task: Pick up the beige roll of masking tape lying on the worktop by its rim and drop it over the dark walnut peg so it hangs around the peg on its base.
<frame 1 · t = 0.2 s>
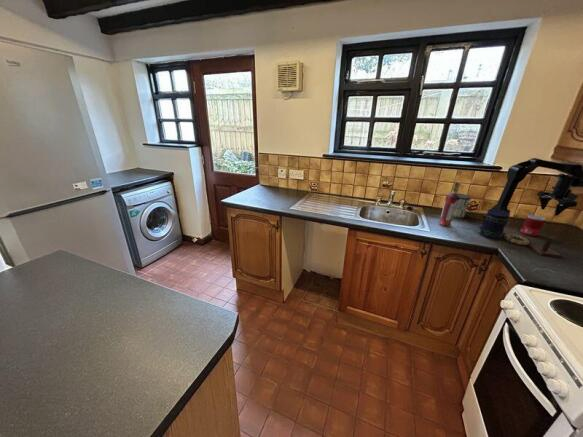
hand: (549, 212, 139), 14 cm above the countertop, tool pointing down, fingers open, 9 cm apart
tape post: (543, 251, 127), on the countertop
tape: (516, 239, 136), point 1 cm above the countertop
canned food: (528, 234, 146), on the countertop
coffee can: (455, 214, 170), on the countertop
liquor: (444, 225, 154), on the countertop
storage jar: (489, 235, 141), on the countertop, touching arm
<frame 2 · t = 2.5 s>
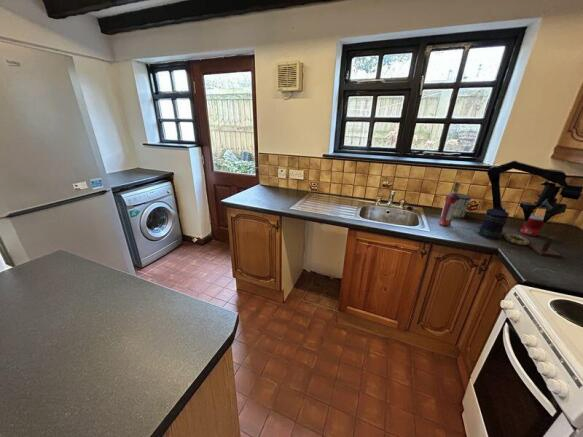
hand: (534, 221, 133), 12 cm above the countertop, tool pointing down, fingers open, 9 cm apart
nothing on the countertop moved.
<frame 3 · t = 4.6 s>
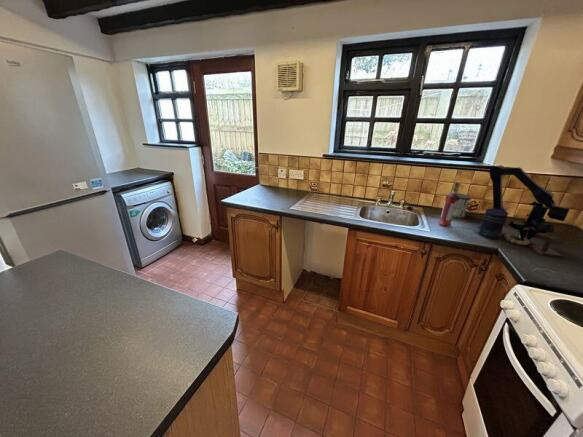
hand: (524, 240, 136), 1 cm above the countertop, tool pointing down, fingers closed on tape, 2 cm apart
tape: (516, 239, 136), point 1 cm above the countertop, touching gripper
everything else where it was.
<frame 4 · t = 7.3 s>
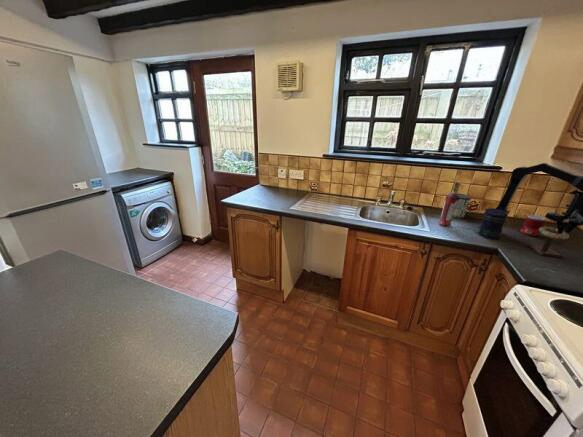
hand: (562, 233, 122), 11 cm above the countertop, tool pointing down, fingers closed on tape, 2 cm apart
tape: (553, 232, 122), point 11 cm above the countertop, touching gripper
everything else where it was.
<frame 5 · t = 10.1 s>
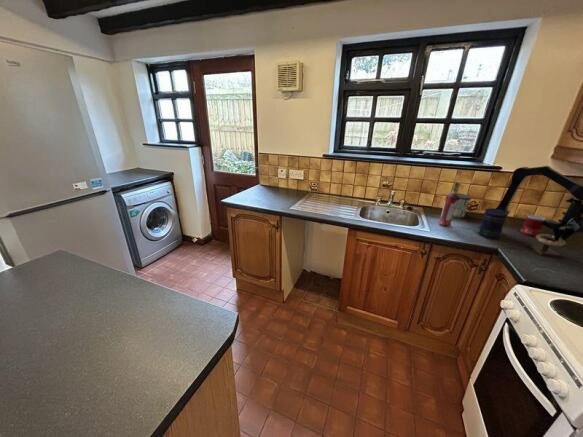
hand: (559, 240, 124), 7 cm above the countertop, tool pointing down, fingers closed on tape, 2 cm apart
tape: (550, 240, 124), point 7 cm above the countertop, touching gripper
everything else where it was.
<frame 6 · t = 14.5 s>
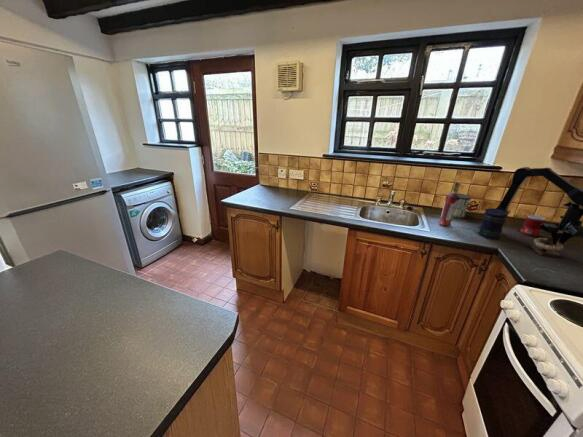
hand: (556, 244, 124), 5 cm above the countertop, tool pointing down, fingers closed on tape, 2 cm apart
tape: (547, 244, 125), point 5 cm above the countertop, tilted 6°, touching gripper
everything else where it was.
when the fingers open (8 cm above the countertop, at t = 15.8 s): tape drops 6 cm, resting on tape post.
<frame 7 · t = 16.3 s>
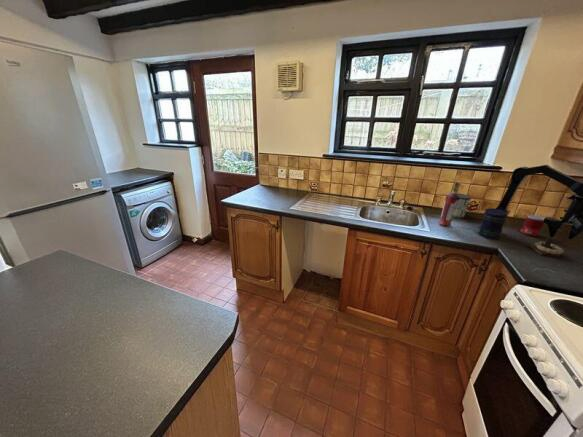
hand: (560, 238, 123), 8 cm above the countertop, tool pointing down, fingers open, 8 cm apart
tape: (548, 247, 126), point 2 cm above the countertop, touching tape post
everything else where it was.
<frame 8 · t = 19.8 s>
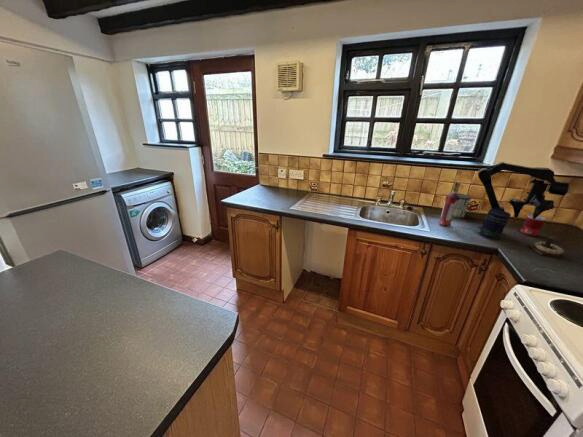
hand: (524, 218, 137), 12 cm above the countertop, tool pointing down, fingers open, 9 cm apart
at the end: tape 1.3 cm from the tape post (horizontally); tape point 2.4 cm above the countertop; the gripper is holding nothing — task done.
